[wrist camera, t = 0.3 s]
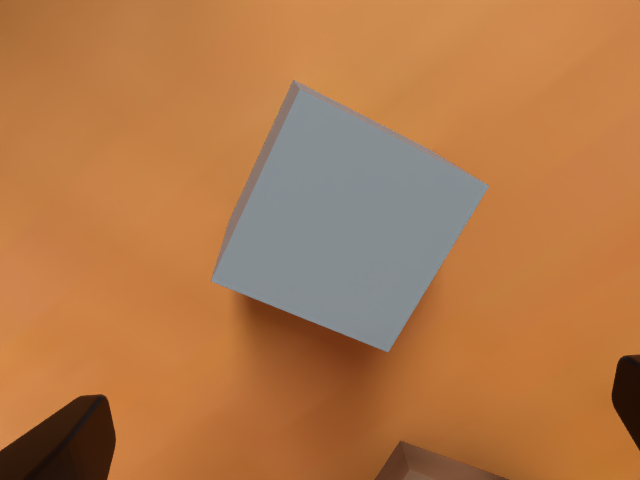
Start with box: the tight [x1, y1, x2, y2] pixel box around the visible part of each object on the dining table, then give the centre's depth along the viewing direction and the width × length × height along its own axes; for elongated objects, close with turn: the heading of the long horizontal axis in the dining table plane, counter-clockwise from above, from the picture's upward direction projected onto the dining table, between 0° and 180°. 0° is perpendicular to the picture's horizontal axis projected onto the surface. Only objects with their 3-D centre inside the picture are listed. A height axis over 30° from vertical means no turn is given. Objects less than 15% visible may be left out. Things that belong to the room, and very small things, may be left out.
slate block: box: [211, 80, 489, 352], centre depth 17 cm, size 6×6×6 cm
